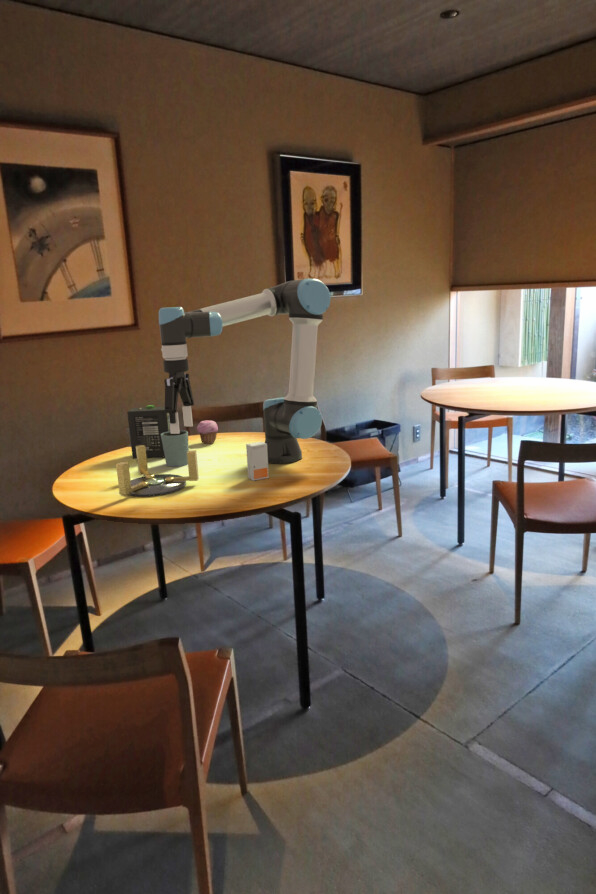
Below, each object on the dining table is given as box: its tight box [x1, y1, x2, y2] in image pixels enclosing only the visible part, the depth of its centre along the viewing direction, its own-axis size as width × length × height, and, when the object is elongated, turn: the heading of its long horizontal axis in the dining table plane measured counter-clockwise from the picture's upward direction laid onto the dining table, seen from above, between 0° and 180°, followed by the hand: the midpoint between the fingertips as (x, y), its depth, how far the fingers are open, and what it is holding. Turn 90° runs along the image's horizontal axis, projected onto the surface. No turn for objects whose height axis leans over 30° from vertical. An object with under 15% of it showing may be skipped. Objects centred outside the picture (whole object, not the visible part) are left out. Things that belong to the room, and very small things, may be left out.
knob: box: [136, 445, 155, 480], centre depth 207 cm, size 11×3×10 cm, turn 30°
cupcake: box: [196, 419, 219, 445], centre depth 260 cm, size 9×9×10 cm
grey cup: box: [161, 429, 190, 468], centre depth 228 cm, size 10×10×12 cm
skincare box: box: [245, 441, 270, 481], centre depth 204 cm, size 6×4×12 cm
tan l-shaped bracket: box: [165, 450, 200, 482], centre depth 199 cm, size 11×3×10 cm, turn 90°
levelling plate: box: [127, 473, 187, 498], centre depth 200 cm, size 20×20×2 cm
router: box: [126, 404, 170, 460], centre depth 241 cm, size 8×18×20 cm, turn 89°
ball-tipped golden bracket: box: [115, 461, 148, 496], centre depth 192 cm, size 11×3×10 cm, turn 150°
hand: (182, 429), depth 192 cm, fingers open, 10 cm apart
